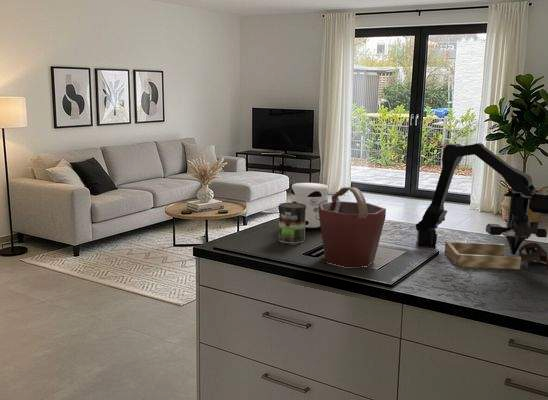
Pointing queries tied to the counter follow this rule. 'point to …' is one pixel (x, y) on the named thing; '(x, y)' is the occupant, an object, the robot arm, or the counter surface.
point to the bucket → (350, 229)
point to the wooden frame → (464, 258)
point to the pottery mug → (533, 253)
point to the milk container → (310, 201)
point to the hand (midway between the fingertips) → (513, 254)
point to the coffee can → (292, 222)
